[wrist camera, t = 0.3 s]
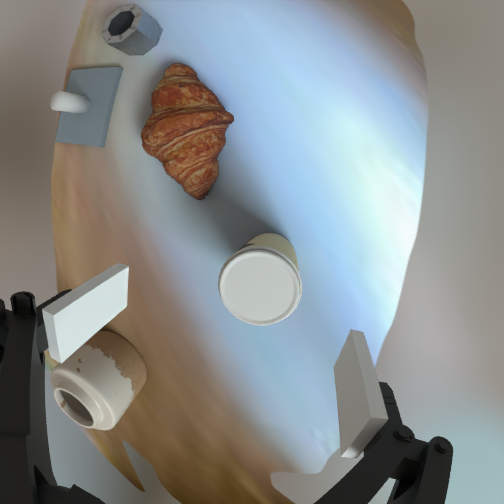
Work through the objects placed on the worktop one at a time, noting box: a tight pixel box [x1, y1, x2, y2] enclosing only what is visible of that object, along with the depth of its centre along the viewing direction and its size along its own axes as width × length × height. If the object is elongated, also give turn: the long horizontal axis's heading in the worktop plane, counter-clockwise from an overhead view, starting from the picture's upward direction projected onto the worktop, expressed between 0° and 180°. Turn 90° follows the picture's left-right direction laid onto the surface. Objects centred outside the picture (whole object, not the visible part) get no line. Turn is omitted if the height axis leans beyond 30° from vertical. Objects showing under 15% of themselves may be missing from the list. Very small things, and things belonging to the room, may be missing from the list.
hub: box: [101, 4, 162, 55], centre depth 33 cm, size 7×7×7 cm
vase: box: [51, 331, 147, 430], centre depth 47 cm, size 15×15×17 cm
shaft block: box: [50, 67, 123, 147], centre depth 37 cm, size 14×12×8 cm
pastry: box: [141, 63, 234, 200], centre depth 36 cm, size 17×15×8 cm
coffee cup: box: [218, 233, 302, 325], centre depth 38 cm, size 9×9×12 cm
